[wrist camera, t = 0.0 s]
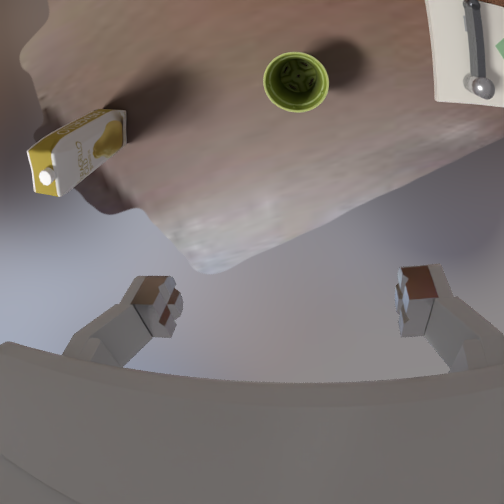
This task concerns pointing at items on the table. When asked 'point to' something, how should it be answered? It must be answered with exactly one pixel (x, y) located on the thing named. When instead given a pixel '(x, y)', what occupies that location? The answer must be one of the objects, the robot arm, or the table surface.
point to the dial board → (464, 50)
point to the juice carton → (76, 150)
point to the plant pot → (296, 82)
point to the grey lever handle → (476, 53)
